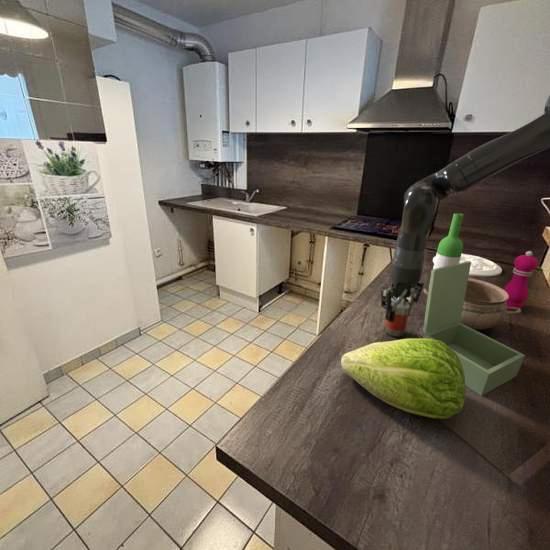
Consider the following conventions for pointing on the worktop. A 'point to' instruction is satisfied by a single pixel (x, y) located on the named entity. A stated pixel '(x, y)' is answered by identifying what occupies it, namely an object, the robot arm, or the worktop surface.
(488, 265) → the ceiling medallion
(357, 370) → the lettuce
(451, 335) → the bin
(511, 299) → the pepper mill
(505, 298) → the cooking pot
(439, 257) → the wine bottle
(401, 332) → the jar
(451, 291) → the bin lid
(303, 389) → the worktop surface
